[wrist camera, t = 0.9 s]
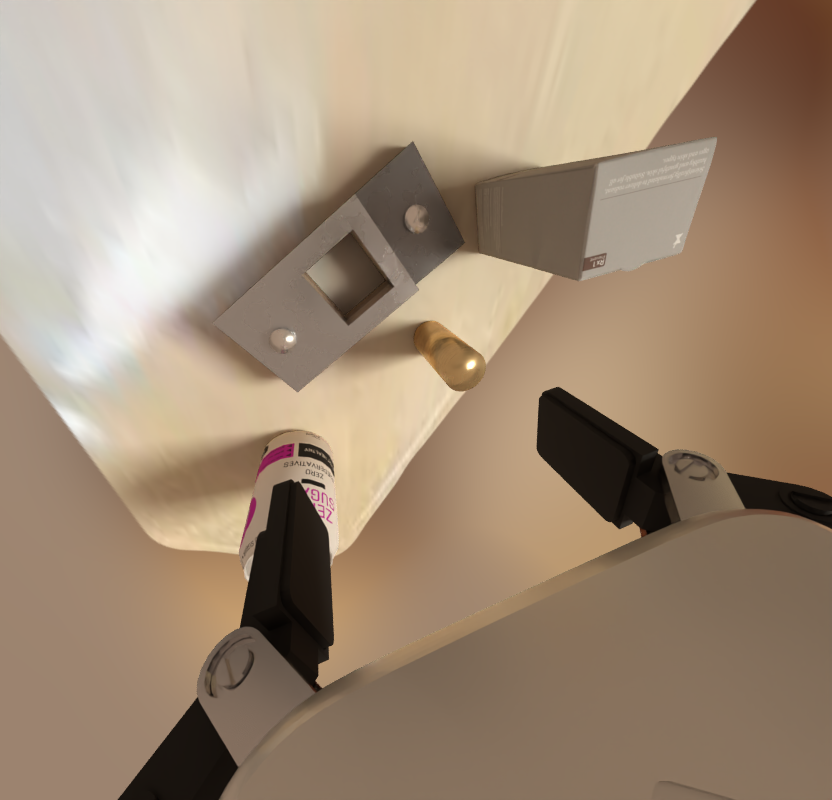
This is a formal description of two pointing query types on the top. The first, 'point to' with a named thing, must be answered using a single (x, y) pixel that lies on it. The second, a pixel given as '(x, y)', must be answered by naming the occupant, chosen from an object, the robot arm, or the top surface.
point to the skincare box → (595, 210)
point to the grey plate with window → (383, 243)
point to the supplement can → (300, 462)
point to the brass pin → (449, 356)
